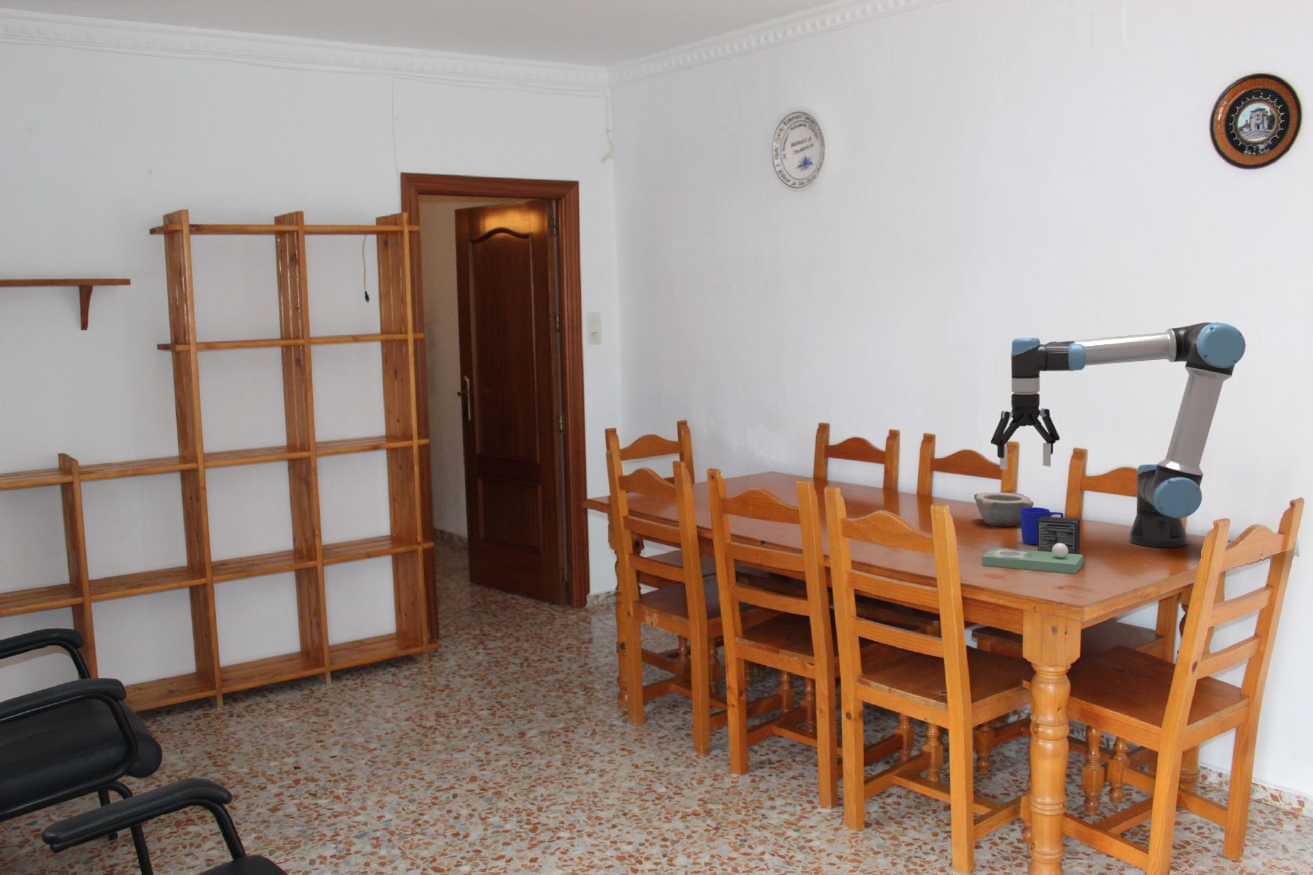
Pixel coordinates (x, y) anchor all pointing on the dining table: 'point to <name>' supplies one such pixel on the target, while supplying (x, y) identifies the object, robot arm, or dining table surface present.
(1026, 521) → the mug
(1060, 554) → the ball
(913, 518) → the dining table surface
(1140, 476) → the robot arm
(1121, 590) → the dining table surface
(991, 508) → the mortar
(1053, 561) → the green
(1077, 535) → the small box
